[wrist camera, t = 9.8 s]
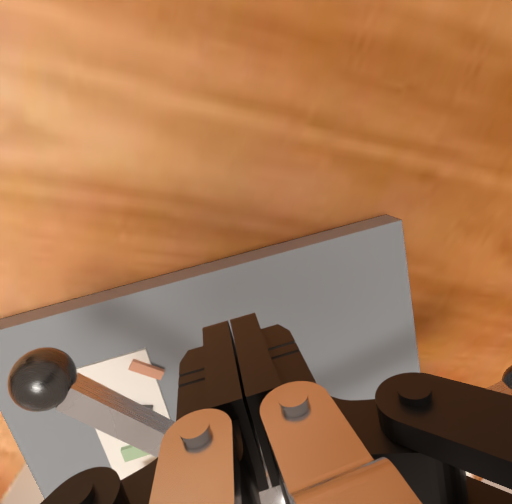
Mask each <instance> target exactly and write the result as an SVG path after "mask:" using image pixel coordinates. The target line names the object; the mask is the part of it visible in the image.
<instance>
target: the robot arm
mask: <svg viewBox="0 0 512 504" xmlns="http://www.w3.org/2000/svg"><path fill="white" fill-rule="evenodd" d="M230 323H231V327H232V332H233V335H232V332H231V329H230V325H229V322H228V321H224V322H221V323H217V324H214V325H210V326H207V327H203V328H202V332H203V346H201V347H198V348H194V349H191V350H188V351H187V352H186V354H185V355H184V357H183V359H182V360H181V362H180V365H179V381H178V386H179V388H178V398H177V414H176V422H175V423H174V424H173V425H172V426H171V427H170V428H169V429H168V430H167V432H166V433H165V435H164V437H163V439H162V442H161V446H160V451H159V456H158V457H157V458H156V459H155V460H154V461H152V462H151V463H149V464H148V465H146V466H145V467H143V468H141V469H140V470H138V471H136V472H134V473H133V474H131V475H129V476H127V477H126V478H124V479H122V480H120V478H119V475H118V474H117V472H116V471H115V470H113V469H112V468H109V467H93V468H90V469H87V470H84V471H81V472H79V473H77V474H75V475H74V476H72V477H70V478H69V479H67V480H66V481H65V482H63V483H62V484H61V485H59V486H58V487H57V488H56V489H55V490H54V491H53V492H52V493H51V494H50V495H49V496H48V497H47V498H46V499H45V500H44V501H43V502H42V503H41V504H261V501H260V496H259V492H261V491H264V490H267V489H269V485H268V481H267V476H266V472H265V467H264V462H263V458H264V461H265V464H266V468H267V471H268V475H269V478H270V482H271V485H272V488H273V487H276V486H279V485H280V487H281V490H282V494H283V497H284V500H285V504H512V494H510V493H508V492H505V491H503V490H500V489H498V488H495V487H493V486H490V485H488V484H485V483H483V482H481V481H478V480H476V479H473V478H471V477H468V476H466V472H465V471H467V472H469V473H472V474H474V475H477V476H479V477H482V478H484V479H487V480H489V481H492V482H494V483H497V484H499V485H502V486H504V487H507V488H509V489H512V395H509V394H505V393H501V392H497V391H493V390H489V389H485V388H481V387H477V386H473V385H470V384H466V383H462V382H458V381H454V380H450V379H446V378H442V377H438V376H434V375H431V374H426V373H418V372H409V373H402V374H397V375H394V376H392V377H390V378H388V379H386V380H385V381H383V382H382V383H381V384H380V385H379V386H378V388H377V390H376V393H375V399H369V400H343V399H338V398H335V397H332V396H330V395H329V393H328V392H327V391H326V389H325V388H323V387H322V386H320V385H318V384H317V383H316V381H315V379H314V377H313V375H312V373H311V371H310V370H309V368H308V366H307V364H306V362H305V360H304V358H303V356H302V354H301V352H300V350H299V348H298V346H297V344H296V343H295V340H294V338H293V336H292V334H291V332H290V330H288V329H286V328H284V327H282V326H281V325H279V324H276V325H273V326H269V327H266V328H263V329H261V328H260V325H259V323H258V320H257V317H256V314H255V313H252V314H248V315H245V316H241V317H238V318H234V319H231V320H230ZM233 337H234V339H233ZM260 447H261V449H260ZM261 451H262V453H261ZM262 454H263V458H262Z"/></svg>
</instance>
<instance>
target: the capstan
mask: <svg viewBox="0 0 512 504" xmlns="http://www.w3.org/2000/svg"><path fill="white" fill-rule="evenodd" d="M7 387H8V392H9V395H10V397H11V399H12V400H13V401H14V403H15V404H16V405H18V406H19V407H21V408H22V409H25V410H27V411H32V412H42V411H47V410H51V409H53V408H55V407H56V409H55V410H57V411H59V412H61V413H63V414H66V415H68V416H70V417H72V418H74V419H76V420H78V421H80V422H83V423H85V424H87V425H89V426H91V427H93V428H95V429H97V430H100V431H102V432H104V433H106V434H108V435H110V436H112V437H114V438H117V439H119V440H121V441H123V442H125V443H127V444H129V445H131V446H134V447H136V448H138V449H140V450H142V451H144V452H146V453H148V454H151V455H153V456H155V457H158V456H159V451H160V446H161V442H162V439H163V437H164V435H165V433H166V432H167V430H168V429H169V428H170V427H171V426H172V425H173V424H174V423H175V421H173V420H171V419H169V418H167V417H165V416H163V415H161V414H159V413H157V412H155V411H153V410H151V409H149V408H147V407H145V406H143V405H141V404H139V403H137V402H135V401H133V400H131V399H129V398H127V397H125V396H123V395H121V394H120V393H118V392H116V391H114V390H112V389H110V388H108V387H106V386H104V385H102V384H100V383H98V382H96V381H94V380H92V379H90V378H88V377H86V376H84V375H82V374H80V373H77V369H76V366H75V363H74V361H73V360H72V358H71V357H70V356H69V355H68V354H67V353H65V352H64V351H62V350H59V349H56V348H51V347H43V348H38V349H34V350H32V351H29V352H28V353H26V354H24V355H23V356H22V357H20V358H19V359H18V360H17V361H16V363H15V364H14V365H13V367H12V369H11V371H10V373H9V376H8V382H7ZM486 389H489V390H493V391H497V392H501V393H505V394H509V395H512V366H510V367H509V368H508V369H507V370H506V371H505V372H504V374H503V377H502V381H500V382H498V383H496V384H494V385H492V386H490V387H488V388H486ZM260 449H261V447H260ZM261 453H262V451H261ZM262 458H263V454H262ZM263 462H264V467H265V472H266V476H267V481H268V485H269V489H267V490H264V491H261V492H259V496H260V501H261V504H285V500H284V497H283V494H282V490H281V487H280V485H279V486H276V487H273V488H272V485H271V482H270V478H269V475H268V471H267V468H266V464H265V461H264V458H263Z"/></svg>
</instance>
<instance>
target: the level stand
mask: <svg viewBox="0 0 512 504" xmlns="http://www.w3.org/2000/svg"><path fill="white" fill-rule="evenodd" d="M252 313H255V314H256V317H257V320H258V323H259V325H260V328H261V329H263V328H266V327H269V326H273V325H276V324H279V325H281V326H282V327H284V328H286V329H288V330H290V332H291V334H292V336H293V338H294V340H295V343H296V344H297V346H298V348H299V350H300V352H301V354H302V356H303V358H304V360H305V362H306V364H307V366H308V368H309V370H310V371H311V373H312V375H313V377H314V379H315V381H316V383H317V384H318V385H320V386H322V387H323V388H325V389H326V391H327V392H328V393H329V395H330V396H332V397H335V398H338V399H343V400H369V399H375V393H376V390H377V388H378V386H379V385H380V384H381V383H382V382H383V381H385V380H386V379H388V378H390V377H392V376H394V375H397V374H402V373H409V372H418V373H420V366H419V358H418V350H417V342H416V333H415V325H414V317H413V308H412V300H411V292H410V284H409V275H408V267H407V259H406V251H405V242H404V234H403V226H402V220H400V219H398V218H395V217H392V216H389V215H383V216H379V217H375V218H371V219H368V220H364V221H360V222H357V223H353V224H349V225H346V226H342V227H338V228H335V229H331V230H327V231H323V232H320V233H316V234H312V235H309V236H305V237H301V238H298V239H294V240H290V241H287V242H283V243H279V244H275V245H272V246H268V247H264V248H261V249H257V250H253V251H250V252H246V253H242V254H239V255H235V256H231V257H227V258H224V259H220V260H216V261H213V262H209V263H205V264H202V265H198V266H194V267H191V268H187V269H183V270H179V271H176V272H172V273H168V274H165V275H161V276H157V277H154V278H150V279H146V280H143V281H139V282H135V283H132V284H128V285H124V286H120V287H117V288H113V289H109V290H106V291H102V292H98V293H95V294H91V295H87V296H84V297H80V298H76V299H72V300H69V301H65V302H61V303H58V304H54V305H50V306H47V307H43V308H39V309H36V310H32V311H28V312H24V313H21V314H17V315H13V316H10V317H6V318H2V319H0V411H1V413H2V415H3V417H4V419H5V421H6V423H7V425H8V427H9V429H10V431H11V433H12V435H13V437H14V439H15V441H16V443H17V445H18V447H19V449H20V451H21V453H22V455H23V457H24V459H25V461H26V463H27V465H28V467H29V469H30V471H31V473H32V475H33V477H34V479H35V481H36V483H37V485H38V487H39V489H40V491H41V493H42V495H43V497H44V499H46V498H47V497H48V496H49V495H50V494H51V493H52V492H53V491H54V490H55V489H56V488H57V487H58V486H59V485H61V484H62V483H63V482H65V481H66V480H67V479H69V478H70V477H72V476H74V475H75V474H77V473H79V472H81V471H84V470H87V469H90V468H93V467H109V468H112V469H113V470H115V471H116V472H117V474H118V475H119V478H120V480H122V479H124V478H126V477H127V476H129V475H131V474H133V473H134V472H136V471H138V470H140V469H141V468H143V467H145V466H146V465H148V464H149V463H151V462H152V461H154V460H155V459H156V458H157V457H155V456H153V455H151V454H148V453H146V452H144V451H142V450H140V449H138V448H136V447H134V446H131V445H129V444H127V443H125V442H123V441H121V440H119V439H117V438H114V437H112V436H110V435H108V434H106V433H104V432H102V431H100V430H97V429H95V428H93V427H91V426H89V425H87V424H85V423H83V422H80V421H78V420H76V419H74V418H72V417H70V416H68V415H66V414H63V413H61V412H59V411H57V410H55V409H56V407H55V408H53V409H51V410H47V411H42V412H32V411H27V410H25V409H22V408H21V407H19V406H18V405H16V404H15V403H14V401H13V400H12V399H11V397H10V395H9V392H8V387H7V382H8V376H9V373H10V371H11V369H12V367H13V365H14V364H15V363H16V361H17V360H18V359H19V358H20V357H22V356H23V355H24V354H26V353H28V352H29V351H32V350H34V349H38V348H43V347H51V348H56V349H59V350H62V351H64V352H65V353H67V354H68V355H69V356H70V357H71V358H72V360H73V361H74V363H75V366H76V369H77V373H80V374H82V375H84V376H86V377H88V378H90V379H92V380H94V381H96V382H98V383H100V384H102V385H104V386H106V387H108V388H110V389H112V390H114V391H116V392H118V393H120V394H121V395H123V396H125V397H127V398H129V399H131V400H133V401H135V402H137V403H139V404H141V405H143V406H145V407H147V408H149V409H151V410H153V411H155V412H157V413H159V414H161V415H163V416H165V417H167V418H169V419H171V420H173V421H175V422H176V414H177V398H178V388H179V386H178V381H179V365H180V362H181V360H182V359H183V357H184V355H185V354H186V352H187V351H188V350H191V349H194V348H198V347H201V346H203V332H202V328H203V327H207V326H210V325H214V324H217V323H221V322H224V321H228V322H229V325H230V329H231V332H232V327H231V323H230V320H231V319H234V318H238V317H241V316H245V315H248V314H252ZM232 335H233V332H232ZM233 339H234V337H233Z"/></svg>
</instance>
